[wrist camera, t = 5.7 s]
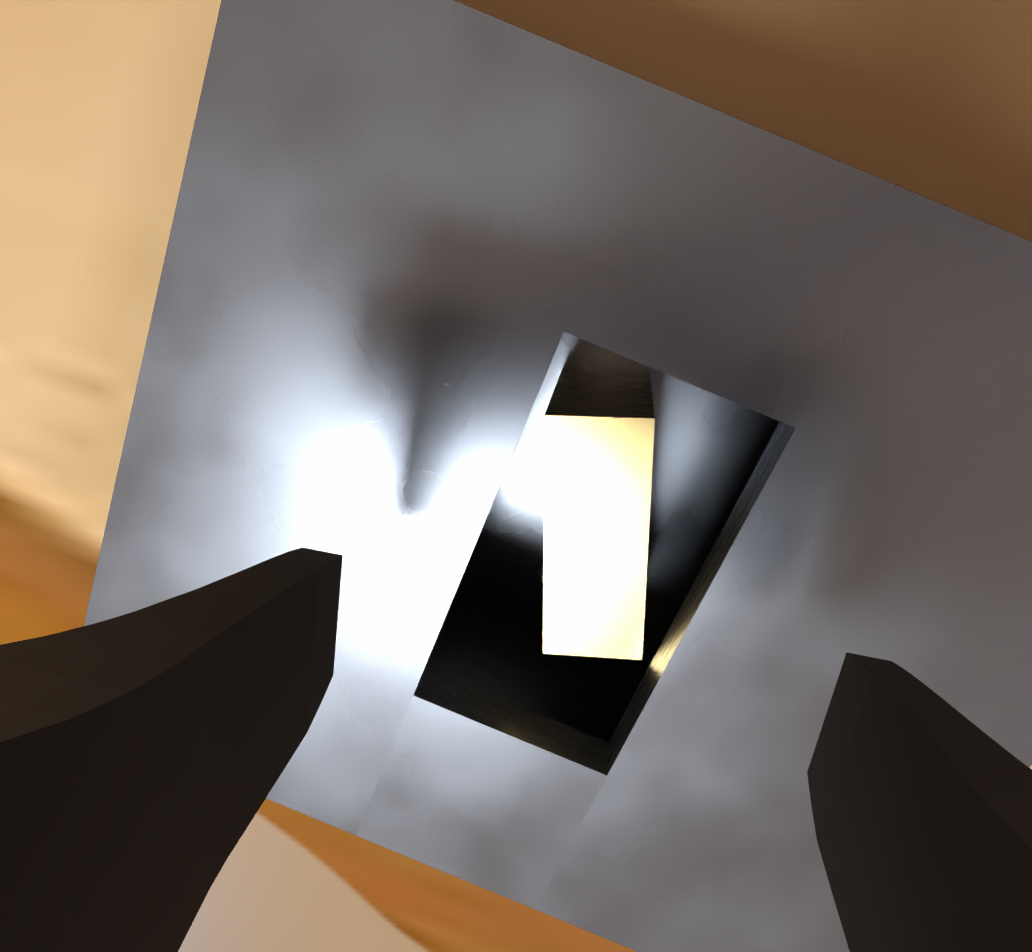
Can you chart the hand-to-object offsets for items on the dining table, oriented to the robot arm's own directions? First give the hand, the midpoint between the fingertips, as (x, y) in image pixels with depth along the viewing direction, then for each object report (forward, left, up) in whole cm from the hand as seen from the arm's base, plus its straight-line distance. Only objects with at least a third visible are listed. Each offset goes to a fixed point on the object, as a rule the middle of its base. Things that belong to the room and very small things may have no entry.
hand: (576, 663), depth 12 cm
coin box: (0, 0, -9) cm, 9 cm away
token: (0, 0, -8) cm, 8 cm away
